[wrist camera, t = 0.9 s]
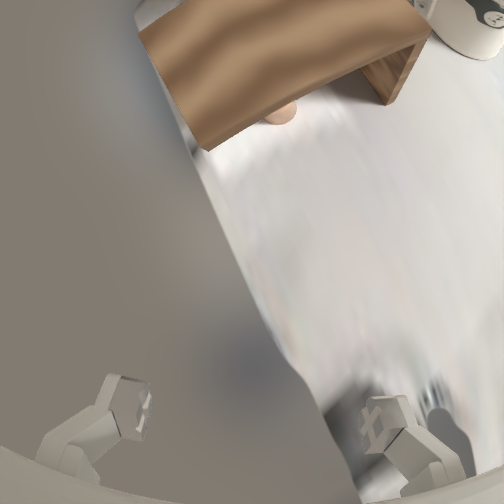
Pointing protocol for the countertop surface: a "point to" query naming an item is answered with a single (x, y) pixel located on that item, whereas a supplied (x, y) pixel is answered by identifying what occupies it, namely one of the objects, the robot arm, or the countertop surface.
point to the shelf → (276, 55)
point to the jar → (282, 114)
